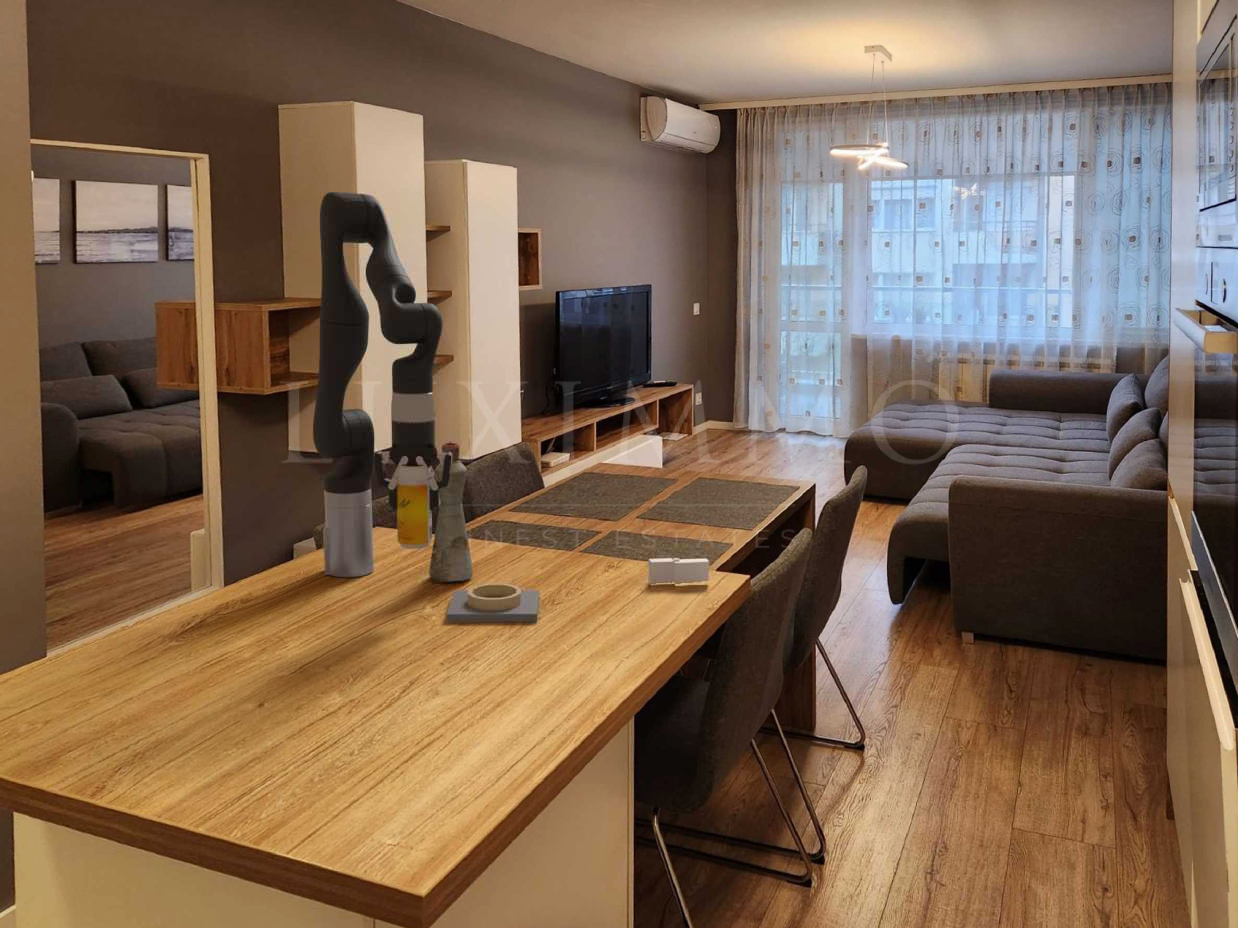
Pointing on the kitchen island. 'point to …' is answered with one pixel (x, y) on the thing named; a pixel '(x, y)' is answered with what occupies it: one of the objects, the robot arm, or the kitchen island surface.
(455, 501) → the bottle
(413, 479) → the beer can
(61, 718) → the kitchen island surface
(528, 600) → the socket board
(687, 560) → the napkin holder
